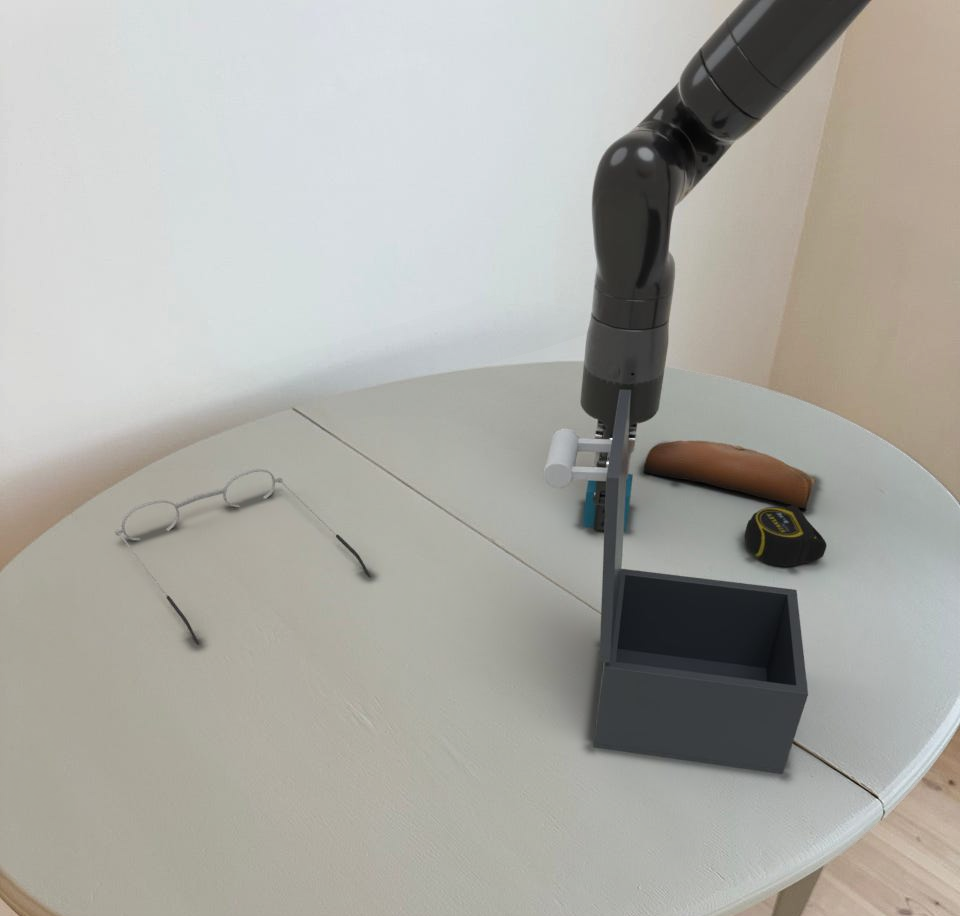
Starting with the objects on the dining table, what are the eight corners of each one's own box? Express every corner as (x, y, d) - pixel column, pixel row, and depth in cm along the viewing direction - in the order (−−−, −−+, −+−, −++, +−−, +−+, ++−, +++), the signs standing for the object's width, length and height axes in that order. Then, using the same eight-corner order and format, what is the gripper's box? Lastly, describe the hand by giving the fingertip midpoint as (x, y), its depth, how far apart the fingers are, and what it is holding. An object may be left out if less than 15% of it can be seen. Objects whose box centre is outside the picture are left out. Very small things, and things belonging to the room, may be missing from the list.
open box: (773, 670, 86) (796, 589, 80) (781, 777, 76) (808, 694, 71) (605, 648, 87) (616, 567, 82) (592, 750, 78) (604, 667, 72)
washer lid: (630, 389, 72) (558, 387, 73) (618, 477, 62) (535, 473, 63) (621, 563, 81) (557, 559, 82) (610, 662, 72) (538, 657, 73)
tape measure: (823, 570, 97) (832, 538, 95) (757, 576, 96) (766, 544, 94) (793, 531, 102) (802, 500, 100) (731, 537, 101) (738, 505, 99)
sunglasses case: (819, 475, 110) (826, 443, 104) (802, 530, 108) (808, 500, 102) (662, 440, 115) (661, 408, 109) (643, 492, 113) (641, 461, 107)
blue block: (628, 510, 105) (632, 474, 102) (625, 533, 101) (630, 496, 98) (586, 505, 105) (590, 469, 102) (582, 528, 102) (586, 491, 99)
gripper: (662, 400, 86) (638, 560, 97) (667, 335, 97) (645, 486, 108) (576, 392, 87) (562, 551, 98) (591, 328, 98) (576, 478, 109)
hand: (605, 516), depth 103 cm, fingers closed on blue block, 4 cm apart
